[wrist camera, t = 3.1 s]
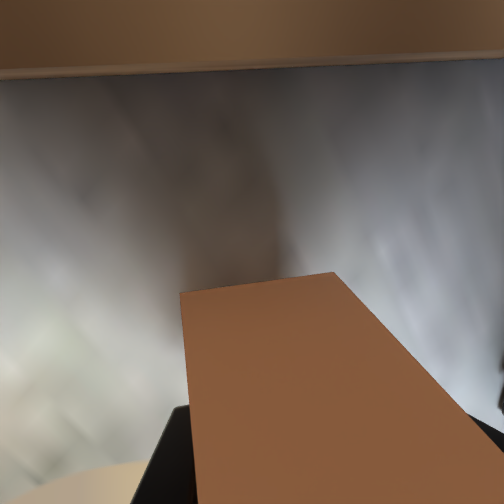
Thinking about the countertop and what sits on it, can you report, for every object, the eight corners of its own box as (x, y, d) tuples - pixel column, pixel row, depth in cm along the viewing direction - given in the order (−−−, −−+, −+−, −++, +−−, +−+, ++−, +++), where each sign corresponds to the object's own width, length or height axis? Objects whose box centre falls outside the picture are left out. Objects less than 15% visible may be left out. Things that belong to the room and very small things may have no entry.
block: (333, 271, 10) (722, 687, 3) (329, 391, 12) (584, 854, 5) (179, 292, 10) (231, 885, 2) (195, 416, 11) (257, 1003, 4)
